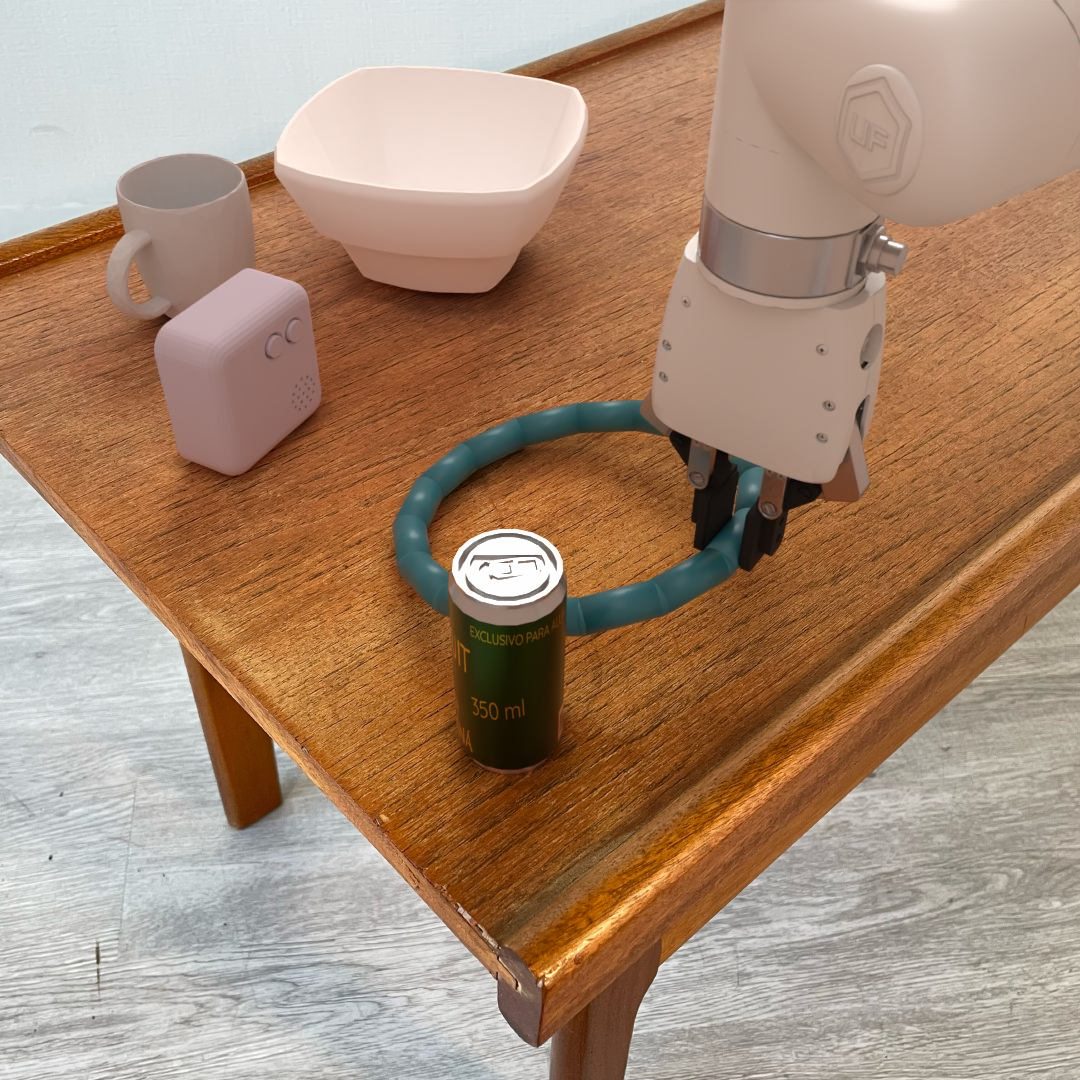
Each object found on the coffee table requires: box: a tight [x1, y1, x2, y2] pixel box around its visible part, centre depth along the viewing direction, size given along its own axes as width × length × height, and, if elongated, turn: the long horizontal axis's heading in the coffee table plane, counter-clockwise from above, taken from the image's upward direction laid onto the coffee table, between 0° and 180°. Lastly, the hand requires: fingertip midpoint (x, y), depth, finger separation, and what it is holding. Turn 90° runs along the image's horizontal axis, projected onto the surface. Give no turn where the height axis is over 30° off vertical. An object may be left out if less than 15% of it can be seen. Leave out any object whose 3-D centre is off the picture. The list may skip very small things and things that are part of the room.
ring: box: [391, 399, 764, 637], centre depth 70 cm, size 22×22×2 cm
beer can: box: [448, 528, 568, 775], centre depth 57 cm, size 5×5×12 cm
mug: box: [105, 152, 256, 321], centre depth 87 cm, size 13×9×10 cm
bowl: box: [273, 65, 589, 294], centre depth 93 cm, size 22×22×12 cm
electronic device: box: [153, 268, 322, 477], centre depth 76 cm, size 10×5×10 cm, turn 152°
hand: (733, 543), depth 65 cm, fingers closed on ring, 2 cm apart
